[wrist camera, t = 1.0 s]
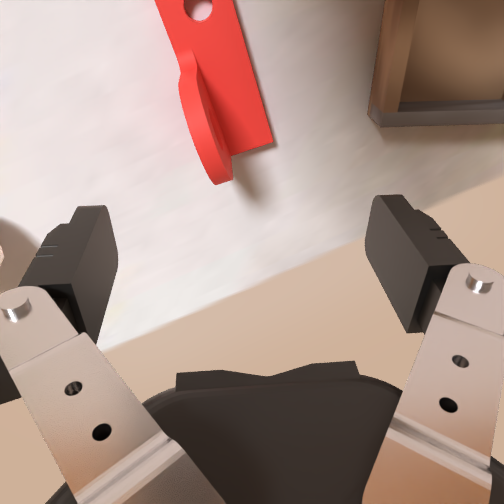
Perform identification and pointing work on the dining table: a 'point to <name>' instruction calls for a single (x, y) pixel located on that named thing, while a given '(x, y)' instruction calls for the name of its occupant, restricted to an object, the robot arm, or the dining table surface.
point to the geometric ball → (1, 255)
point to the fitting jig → (439, 64)
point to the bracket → (216, 85)
